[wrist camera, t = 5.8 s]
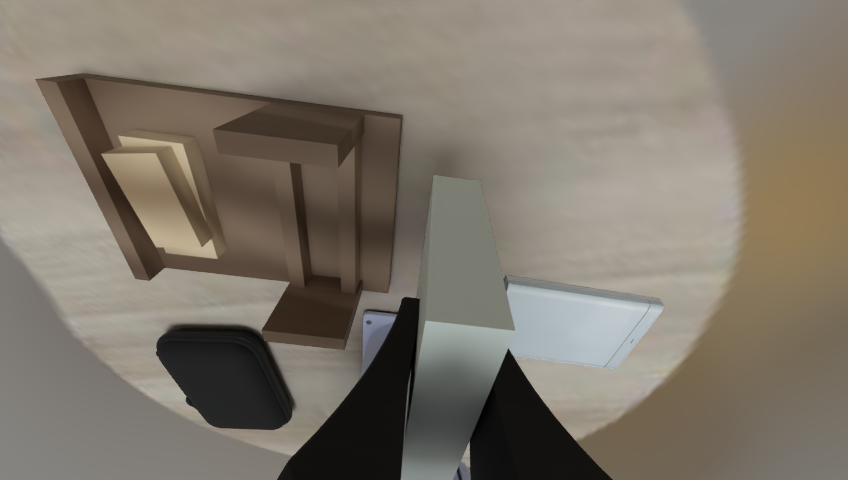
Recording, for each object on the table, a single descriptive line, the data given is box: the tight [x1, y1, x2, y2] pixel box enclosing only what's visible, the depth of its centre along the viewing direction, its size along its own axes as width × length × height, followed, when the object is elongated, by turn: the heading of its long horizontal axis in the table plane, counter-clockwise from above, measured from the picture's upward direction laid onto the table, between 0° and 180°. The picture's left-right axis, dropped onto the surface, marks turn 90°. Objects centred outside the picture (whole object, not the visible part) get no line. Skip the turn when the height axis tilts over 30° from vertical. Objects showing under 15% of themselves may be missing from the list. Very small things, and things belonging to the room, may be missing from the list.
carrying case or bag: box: [156, 329, 292, 430], centre depth 32 cm, size 11×3×15 cm
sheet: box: [401, 175, 515, 480], centre depth 13 cm, size 9×2×8 cm, turn 173°
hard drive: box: [504, 275, 664, 369], centre depth 27 cm, size 2×8×12 cm
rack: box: [35, 73, 402, 350], centre depth 19 cm, size 13×18×6 cm
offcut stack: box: [101, 130, 227, 259], centre depth 20 cm, size 8×4×2 cm, turn 173°
